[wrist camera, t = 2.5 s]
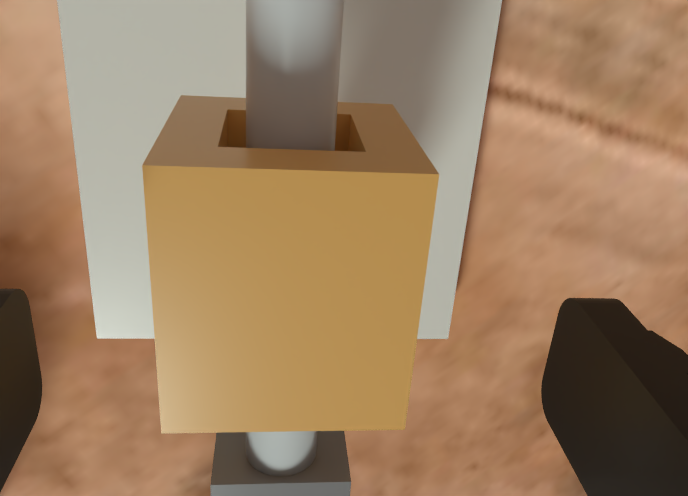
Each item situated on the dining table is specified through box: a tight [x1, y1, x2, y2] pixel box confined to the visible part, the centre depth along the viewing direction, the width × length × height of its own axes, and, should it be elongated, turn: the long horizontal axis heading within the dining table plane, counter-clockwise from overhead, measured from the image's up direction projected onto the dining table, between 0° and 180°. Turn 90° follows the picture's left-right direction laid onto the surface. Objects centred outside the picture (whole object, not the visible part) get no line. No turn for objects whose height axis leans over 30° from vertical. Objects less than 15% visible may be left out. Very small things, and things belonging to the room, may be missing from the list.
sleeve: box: [142, 95, 439, 433], centre depth 13 cm, size 4×5×4 cm
